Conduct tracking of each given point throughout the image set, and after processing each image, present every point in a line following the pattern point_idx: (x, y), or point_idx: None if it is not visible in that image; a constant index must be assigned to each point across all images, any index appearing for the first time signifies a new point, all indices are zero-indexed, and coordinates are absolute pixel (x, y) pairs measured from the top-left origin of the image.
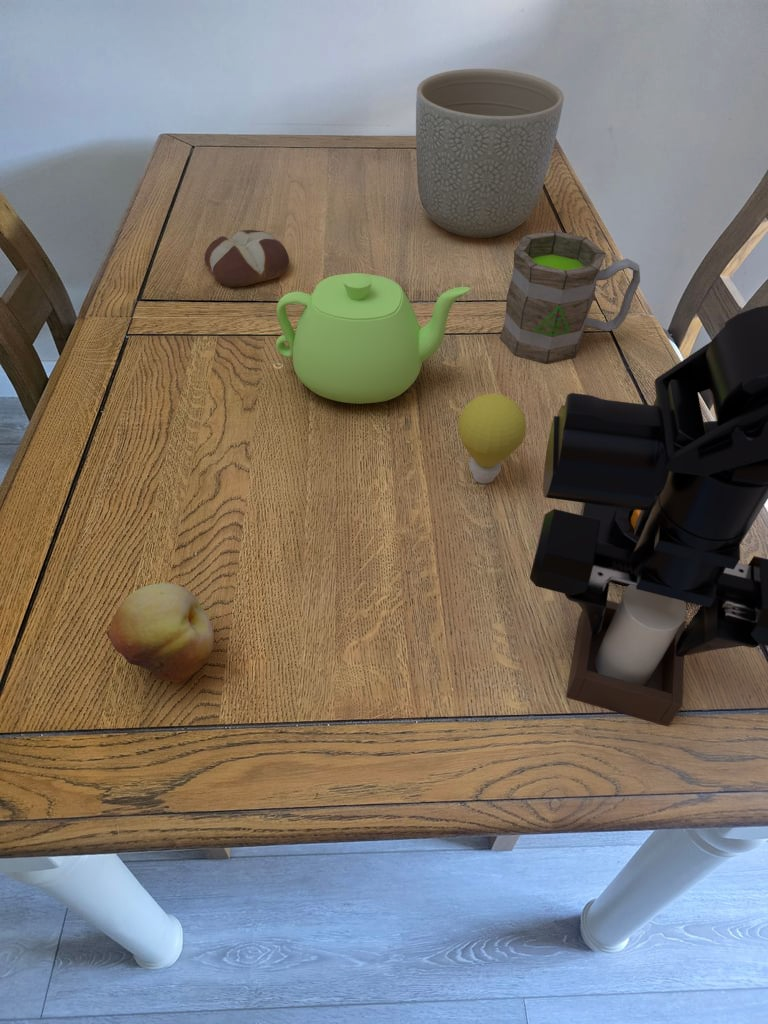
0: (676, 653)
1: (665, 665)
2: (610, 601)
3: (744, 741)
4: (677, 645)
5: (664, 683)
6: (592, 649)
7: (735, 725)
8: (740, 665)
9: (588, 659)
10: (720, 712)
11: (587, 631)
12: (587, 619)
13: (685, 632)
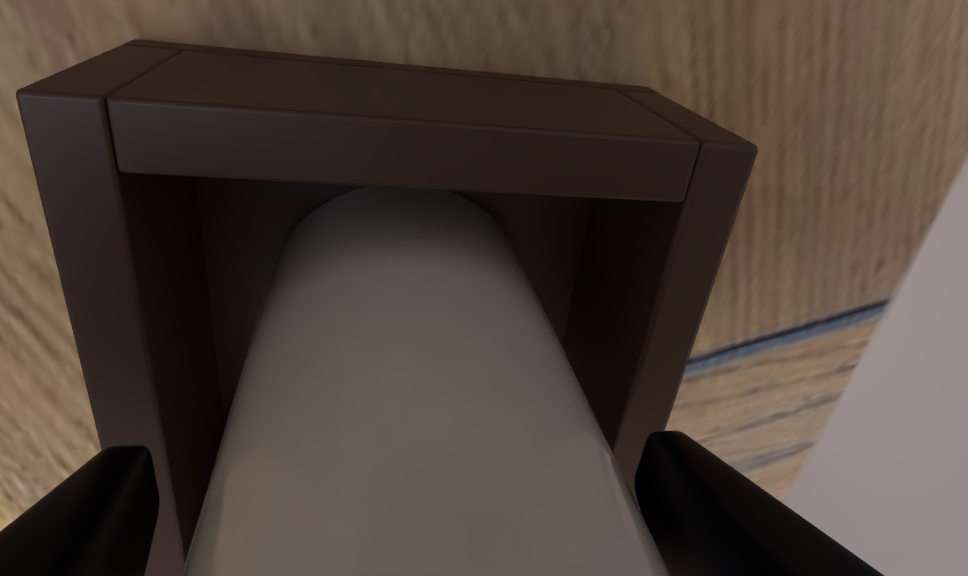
0: (639, 494)
1: (588, 287)
2: (222, 114)
3: (792, 415)
4: (656, 467)
5: (571, 365)
6: (247, 255)
7: (785, 377)
8: (912, 133)
9: (238, 313)
10: (752, 349)
11: (123, 391)
12: (93, 310)
13: (730, 570)
